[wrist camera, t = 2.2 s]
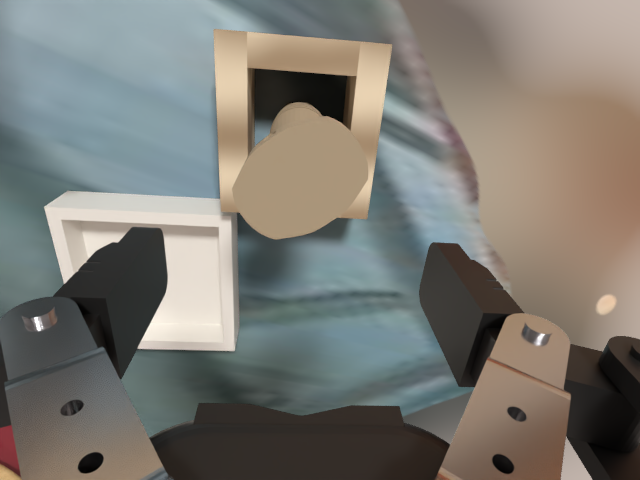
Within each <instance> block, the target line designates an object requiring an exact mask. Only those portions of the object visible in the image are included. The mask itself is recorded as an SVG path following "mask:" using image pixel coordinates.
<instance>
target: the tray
mask: <svg viewBox="0 0 640 480" xmlns="http://www.w3.org/2000/svg"><path fill="white" fill-rule="evenodd" d="M44 208H45V212H46V216H47V220H48V224H49V227H50V231H51V235H52V239H53V243H54V247H55V251H56V254H57V258H58V262H59V266H60V270H61V274H62V277H63V281H64V284H65V283H66V282H67V281H68V280H69V279H70V278H71V277H72V276H73V275H74V274H75V272H78V269H79V268H80V267H81V266H82V265H83V264H84V263H86V262H87V260H88V259H89V258H90V257H91V256H92V255H93V254H94V252H95V251H97V250H98V249H100V248H102V247H104V246H106V245H108V244H110V243H112V242H117V243H118V242H119V241H120V240H121V239H122V238H123V236H124V235H125V234H126V233H127V232H128V231H129V230H130V229H131V228H132V227H150V228H161V230H162V232H163V236H164V245H165V254H166V263H167V273H168V283H167V290H166V293H165V296H164V298H163V300H162V302H161V304H160V305H159V307H158V309H157V311H156V313H155V315H154V317H153V319H152V321H151V323H150V325H149V327H148V329H147V331H146V332H145V334H144V336H143V338H142V340H141V342H140V344H139V346H138V348H137V349H169V350H213V351H235V347H236V342H237V337H238V332H239V277H238V225H237V213H236V212H221V203H220V199H213V198H194V197H175V196H156V195H137V194H118V193H100V192H81V191H67V192H65V193H64V194H62V195H61V196H60V197H58V198H57V199H55V200H54V201H52V202H51V203H49V204H48V205H46V206H45V207H44Z"/></svg>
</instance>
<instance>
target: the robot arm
mask: <svg viewBox="0 0 640 480" xmlns="http://www.w3.org/2000/svg"><path fill="white" fill-rule="evenodd" d="M167 283H168V273H167V263H166V254H165V245H164V236H163V232H162V230H161V228H150V227H132V228H131V229H130V230H129V231H128V232H127V233H126V234H125V235H124V236H123V238H122V239H121V240H120V241H119V242H118V243H117V242H112V243H110V244H108V245H106V246H104V247H102V248H100V249H98V250H97V251H95V252H94V254H93V255H92V256H91V257H90V258H89V259H88V260H87V262H86V263H84V264H83V265H82V266H81V267H80V268H79V269H78V272H75V274H74V275H73V276H72V277H71V278H70V279H69V280H68V281H67V282H66V283H65V284H64V285H63V286H62V287H61V288H60V289H59V290H58V291H57V292H56V293H55V295H54V296H53V297H44V298H39V299H34V300H31V301H28V302H25V303H23V304H20V305H18V306H16V307H14V308H13V309H11V310H10V311H8V312H7V313H6V314H5V315H4V316H3V317H2V318H1V319H0V428H2V427H6V426H10V425H12V430H13V436H14V441H15V447H16V452H17V458H18V463H19V468H20V474H21V479H22V480H561V472H562V464H563V456H564V447H565V440H566V436H567V438H568V440H569V442H570V443H571V445H572V446H573V448H574V450H575V451H576V453H577V455H578V456H579V458H580V460H581V461H582V463H583V465H584V466H585V468H586V470H587V471H588V473H589V474H590V476H591V477H592V479H593V480H640V340H639V339H636V338H631V337H626V336H616V337H613V338H611V339H610V340H609V341H608V343H607V345H606V347H605V349H604V351H603V352H602V351H598V350H594V349H589V348H585V347H581V346H577V345H573V344H570V340H569V338H568V336H567V335H566V334H565V332H564V331H563V330H562V329H561V328H559V327H558V326H556V325H555V324H553V323H552V322H550V321H548V320H546V319H543V318H541V317H538V316H535V315H531V314H525V313H524V312H523V311H522V310H521V309H520V307H519V306H518V305H517V304H516V302H515V301H514V300H513V299H512V298H511V296H510V295H509V294H508V293H507V292H506V290H503V287H502V286H501V284H500V283H499V282H498V281H496V278H495V277H494V276H493V275H492V273H491V272H490V271H489V270H488V269H487V268H485V267H484V266H482V265H481V264H479V263H478V262H476V261H475V260H471V259H470V258H469V257H468V256H467V254H466V253H465V252H464V251H463V249H462V248H461V247H460V245H459V244H455V243H435V242H433V243H432V244H431V245H430V247H429V250H428V254H427V258H426V262H425V266H424V271H423V275H422V279H421V284H420V290H419V297H420V303H421V306H422V308H423V311H424V313H425V315H426V317H427V319H428V321H429V323H430V326H431V328H432V330H433V332H434V334H435V336H436V338H437V341H438V343H439V345H440V347H441V349H442V351H443V354H444V356H445V358H446V360H447V362H448V364H449V366H450V369H451V371H452V373H453V375H454V377H455V379H456V381H457V384H458V386H459V387H475V388H474V391H473V393H472V395H471V398H470V400H469V403H468V405H467V407H466V410H465V412H464V414H463V416H462V419H461V421H460V423H459V426H458V428H457V430H456V433H455V435H454V437H453V440H452V442H451V444H448V443H447V442H446V441H444V440H442V439H441V438H439V437H437V436H436V435H434V434H432V433H430V432H428V431H426V430H424V429H421V428H419V427H416V426H413V425H410V424H407V423H404V422H403V418H402V414H401V411H400V407H399V406H353V405H351V406H347V407H342V408H338V409H333V410H328V411H324V412H319V413H314V414H310V415H304V416H299V415H294V414H290V413H285V412H281V411H277V410H273V409H269V408H265V407H260V406H256V405H252V404H221V403H199V405H198V408H197V412H196V416H195V420H192V421H188V422H184V423H181V424H178V425H175V426H172V427H170V428H168V429H165V430H163V431H161V432H159V433H157V434H155V435H153V436H151V437H150V438H149V437H148V435H147V433H146V431H145V429H144V427H143V425H142V423H141V421H140V419H139V417H138V415H137V413H136V411H135V409H134V407H133V405H132V403H131V401H130V399H129V397H128V395H127V393H126V390H125V388H124V386H123V384H122V382H121V380H120V379H122V377H123V375H124V373H125V371H126V369H127V367H128V365H129V363H130V361H131V360H132V358H133V356H134V354H135V352H136V350H137V348H138V346H139V344H140V342H141V340H142V338H143V336H144V334H145V332H146V331H147V329H148V327H149V325H150V323H151V321H152V319H153V317H154V315H155V313H156V311H157V309H158V307H159V305H160V304H161V302H162V300H163V298H164V296H165V293H166V290H167Z"/></svg>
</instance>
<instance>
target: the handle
mask: <svg viewBox="0 0 640 480" xmlns="http://www.w3.org/2000/svg"><path fill="white" fill-rule="evenodd" d="M367 180H368V163H367V160H366V156H365V153H364V152H363V150H362V148H361V146H360V144H359V142H358V141H357V139H356V138H355V136H354V135H353V134H352V132H351V131H350V130H349V129H348V128H347V127H346V126H345V125H343V124H342V123H341V122H339V121H337V120H335V119H333V118H331V117H328V116H322V115H321V114H320V112H319V111H318V110H317V109H316V108H314V107H313V106H312V105H311V104H310V103H308V102H305V103H303V102H295V103H288V104H286V105H285V106H284V107H283V109H282V110H281V111H280V112H279V113H278V114H277V116H276V118H275V119H274V121H273V124H272V126H271V130H270V134H269V135H268V136H267V137H266V138H264V139H263V140H262V141H260V142H259V143H258V144H257V145H256V146H255V147H254V148H253V149H252V151H251V152H250V154H249V156H248V157H247V159H246V161H245V163H244V165H243V167H242V169H241V171H240V173H239V175H238V177H237V179H236V181H235V183H234V185H233V187H232V192H233V198H234V202H235V205H236V207H237V209H238V211H239V213H240V214H241V215H242V217H243V218H244V219H245V221H246V222H247V223H248V224H249V225H250V226H251V227H252V228H253V229H255V230H256V231H257V232H259V233H260V234H262V235H264V236H266V237H269V238H272V239H275V240H276V239H283V238H290V237H295V236H301V235H305V234H309V233H312V232H314V231H316V230H318V229H320V228H322V227H323V226H325V225H326V224H328V223H330V222H331V221H333V220H334V219H336V218H337V217H339V216H340V215H341V214H343V213H344V212H345V211H346V210H347V209H348V208H349V207H350V206H351V204H352V203H353V202H354V200H355V199H356V197H357V196H358V194H359V193H360V191H361V190H362V188H363V186H364V185H365V183H366V182H367Z"/></svg>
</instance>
